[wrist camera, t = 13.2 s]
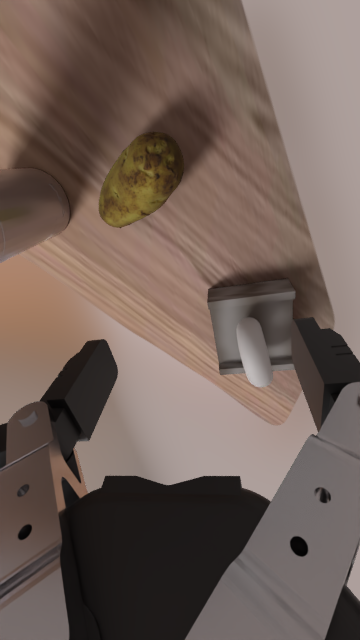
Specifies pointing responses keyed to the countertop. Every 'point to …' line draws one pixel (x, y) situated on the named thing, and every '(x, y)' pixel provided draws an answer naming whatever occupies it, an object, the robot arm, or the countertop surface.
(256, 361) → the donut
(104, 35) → the countertop surface
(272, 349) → the base
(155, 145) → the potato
